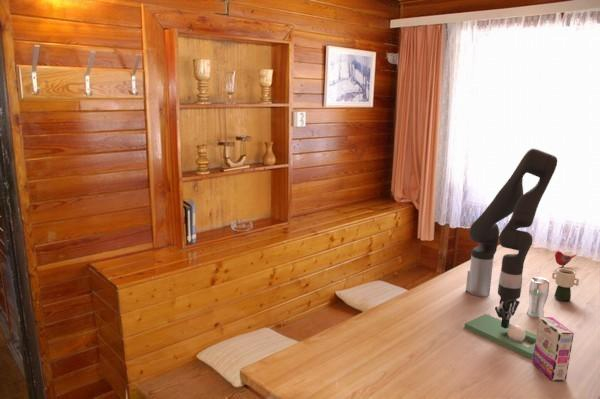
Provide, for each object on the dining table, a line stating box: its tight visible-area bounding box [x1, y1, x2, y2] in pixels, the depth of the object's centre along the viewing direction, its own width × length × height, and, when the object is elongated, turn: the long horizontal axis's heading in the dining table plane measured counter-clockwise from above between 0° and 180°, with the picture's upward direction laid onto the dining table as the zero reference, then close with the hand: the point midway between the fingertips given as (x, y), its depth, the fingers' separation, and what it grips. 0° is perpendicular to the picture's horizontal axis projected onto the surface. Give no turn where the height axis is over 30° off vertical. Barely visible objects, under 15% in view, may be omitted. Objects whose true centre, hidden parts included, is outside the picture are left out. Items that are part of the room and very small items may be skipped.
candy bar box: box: [532, 316, 575, 382], centre depth 149 cm, size 11×5×16 cm, turn 5°
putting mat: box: [463, 313, 537, 360], centre depth 172 cm, size 26×14×2 cm, turn 37°
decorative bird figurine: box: [554, 250, 578, 269], centre depth 242 cm, size 3×18×10 cm, turn 115°
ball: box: [507, 324, 526, 343], centre depth 169 cm, size 6×6×6 cm
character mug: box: [551, 268, 580, 301], centre depth 204 cm, size 11×7×13 cm, turn 39°
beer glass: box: [527, 276, 550, 319], centre depth 189 cm, size 7×7×15 cm
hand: (504, 327), depth 172 cm, fingers closed
